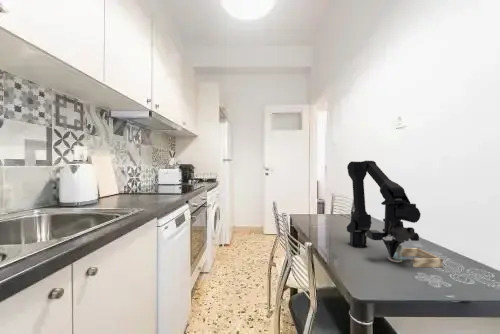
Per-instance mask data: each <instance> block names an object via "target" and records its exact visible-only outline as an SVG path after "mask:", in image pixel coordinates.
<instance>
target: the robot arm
mask: <svg viewBox="0 0 500 334" xmlns="http://www.w3.org/2000/svg"><path fill="white" fill-rule="evenodd" d="M346 168H347V174H348V177H349V178H350V180H351V181H352V195H353V198H352V199H353V213H351V214H352V215H351V216H350V222H349V223H348V225H347V226H346V232H347V233H349V241H348V243H347V244H349V245H350V246H352V247H353V248H368V245H367V239H370V240H372V241H383V243H384V246H385V248H386V250H387V252H388V255H389V256H390V257H393V256H394V254H395V252H396V250H397V248H398V246H399V245H401V244H405V242H409V240H410V241H413V242H419V241H420V235H419V233H417V232H416V231H415V229H414V227H412V226H411V227H404V222H403V221H405V222H408V223H413V224H415V223H417V222H418V221H420V219H421V211H420V209H419V208H418V207H417V204H416V203H411V201H410V199H409V198H408V195H407V193H406V191H405V189H404V188H403V186H401V185H400V184H399V183H397V182H396V181H392V180H391V179H390V178H389V177H388V176H387V175H386V174H385V173H384V171H383V170H382V169H381V168H380V167H379V166H378V165H377V163H376V161H374V160H363V161H350V162H349V163H348V164H347V167H346ZM367 174H368V175H369V177H370V178H372V179H373V181H374V182H375V183H376V184H377V185H378V187H379V193H380V194H381V196H382V198H383V199H384V200H383V201H382V202H381V205H383V206H384V218H382V222H384V227H383V228H382V231H379V230H378V229H371V227H372V224H373V223H372V215H371V214H368V212H367V210H366V195H365V181H364V180H365V178H366V176H367Z"/></svg>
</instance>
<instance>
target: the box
mask: <svg viewBox="0 0 500 334" xmlns="http://www.w3.org/2000/svg"><path fill="white" fill-rule="evenodd" d="M396 252H397V250H396ZM401 255H402V256H403V257H415V258H412V267H413V268H443V267H444V259H443V258H441V257H440V256H437V255H434V254H432V253H430V252H427V250H423V249H421V248H418V247H403V251H402V252H401ZM417 257H419V258H417Z"/></svg>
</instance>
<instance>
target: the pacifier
mask: <svg viewBox="0 0 500 334" xmlns="http://www.w3.org/2000/svg"><path fill="white" fill-rule="evenodd" d="M403 248H404V247H403V246H402V245H401V244H400V245H399V246H398V248H397V252H395V254H394V256H393V257H390V255H389V256H388V257H387V258H388V260H389V261H391V262H394V263H403V261H405V260H408V258H407V257H404V256H402V255H401V252H402V251H403Z"/></svg>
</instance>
